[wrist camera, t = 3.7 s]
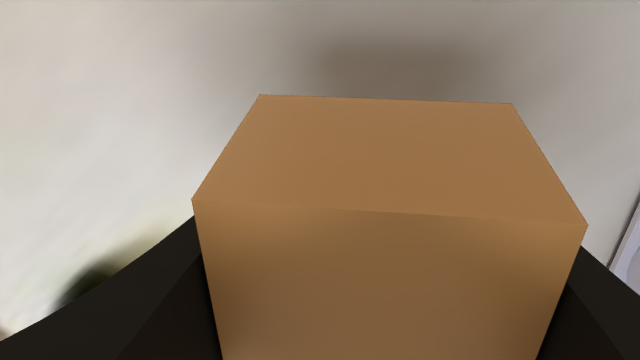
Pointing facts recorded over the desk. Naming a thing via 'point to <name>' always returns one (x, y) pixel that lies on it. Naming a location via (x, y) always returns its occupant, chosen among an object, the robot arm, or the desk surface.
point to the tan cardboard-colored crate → (384, 232)
